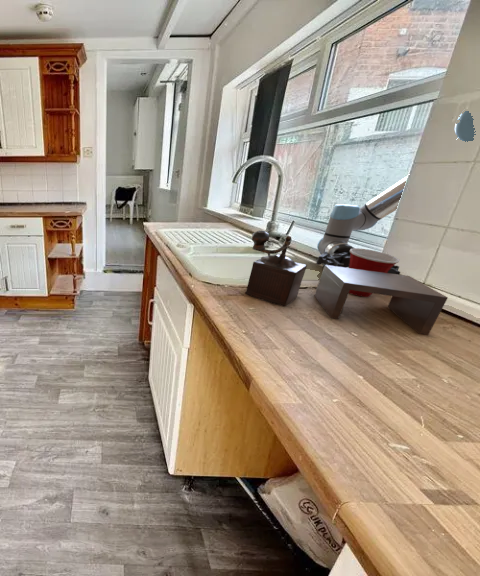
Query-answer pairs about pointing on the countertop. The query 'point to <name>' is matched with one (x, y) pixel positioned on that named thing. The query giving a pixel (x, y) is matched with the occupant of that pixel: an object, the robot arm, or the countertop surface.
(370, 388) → the countertop surface
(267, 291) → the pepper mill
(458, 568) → the countertop surface
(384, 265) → the plastic cup
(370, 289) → the shelf
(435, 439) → the countertop surface
